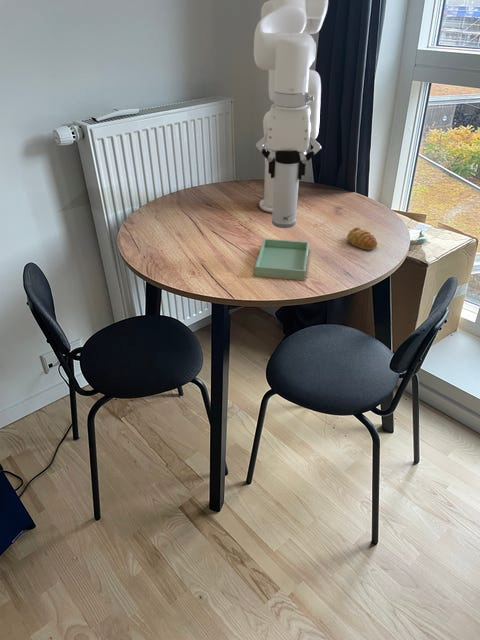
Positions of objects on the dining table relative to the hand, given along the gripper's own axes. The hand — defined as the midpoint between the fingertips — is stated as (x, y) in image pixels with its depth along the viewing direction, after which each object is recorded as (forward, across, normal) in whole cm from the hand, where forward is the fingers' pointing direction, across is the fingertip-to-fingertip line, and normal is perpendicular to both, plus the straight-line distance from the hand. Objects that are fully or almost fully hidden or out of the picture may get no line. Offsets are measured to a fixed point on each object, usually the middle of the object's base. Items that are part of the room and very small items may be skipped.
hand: (286, 176), depth 121 cm
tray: (+24, 0, 0) cm, 24 cm away
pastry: (+25, -22, -16) cm, 37 cm away
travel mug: (+13, 0, 0) cm, 13 cm away
